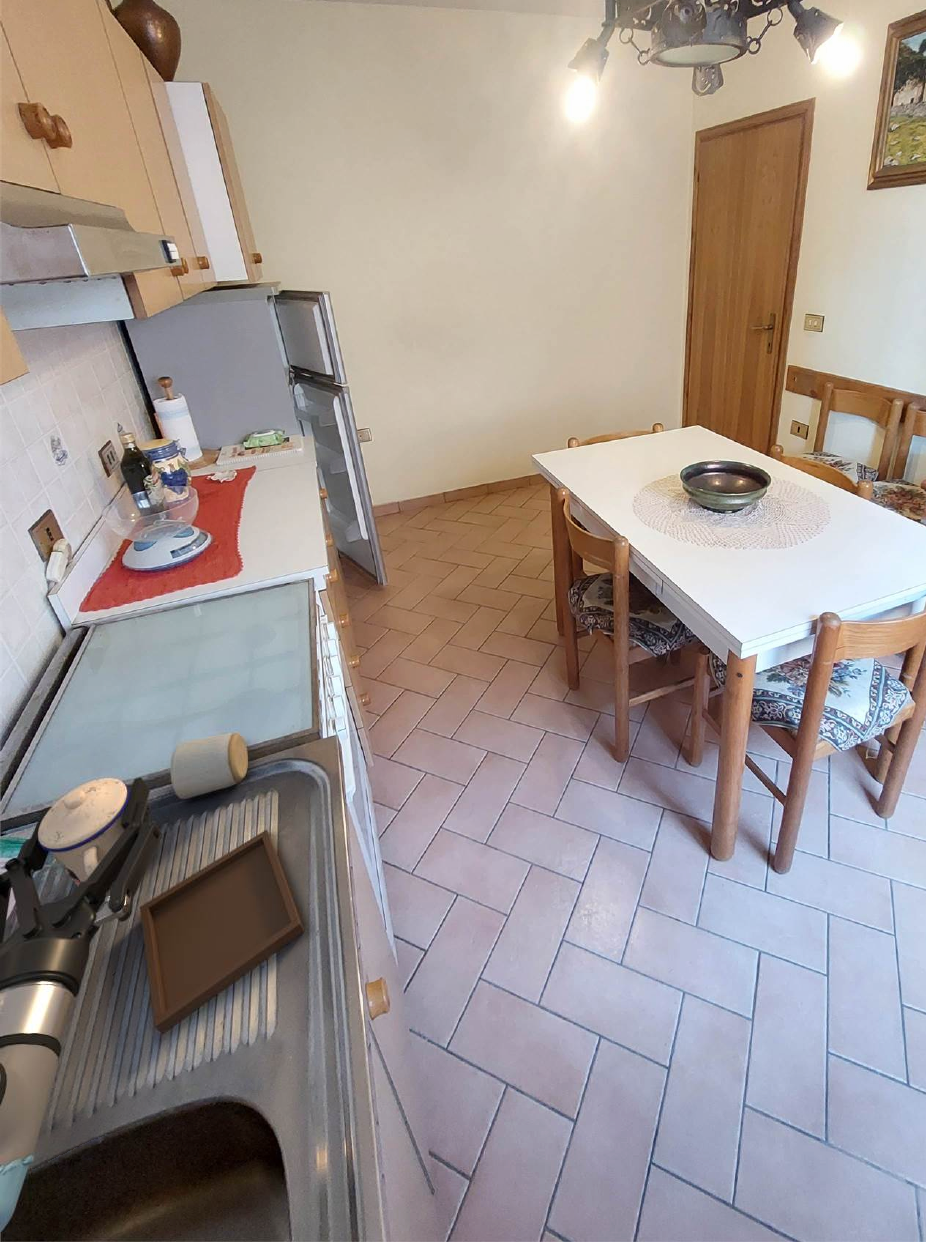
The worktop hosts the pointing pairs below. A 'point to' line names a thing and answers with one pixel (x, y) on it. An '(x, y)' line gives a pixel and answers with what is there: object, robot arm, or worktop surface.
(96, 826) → the teacup with lid
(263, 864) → the rectangular tray
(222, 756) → the ceramic mug
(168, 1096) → the worktop surface
